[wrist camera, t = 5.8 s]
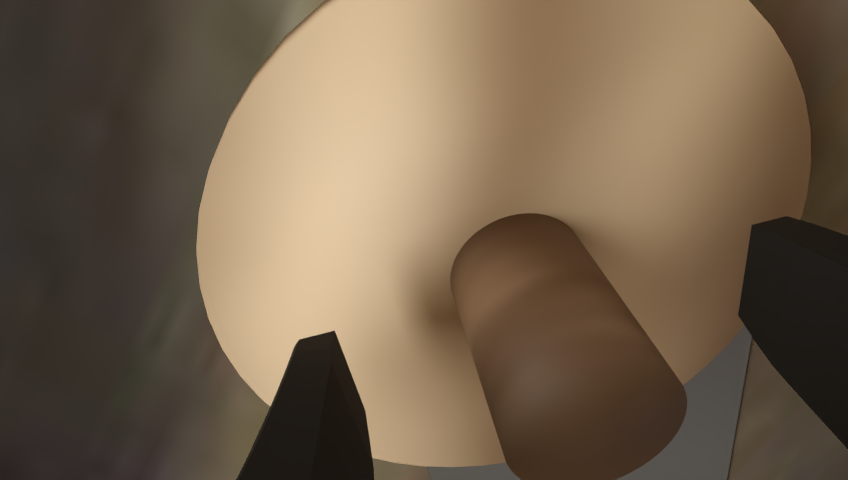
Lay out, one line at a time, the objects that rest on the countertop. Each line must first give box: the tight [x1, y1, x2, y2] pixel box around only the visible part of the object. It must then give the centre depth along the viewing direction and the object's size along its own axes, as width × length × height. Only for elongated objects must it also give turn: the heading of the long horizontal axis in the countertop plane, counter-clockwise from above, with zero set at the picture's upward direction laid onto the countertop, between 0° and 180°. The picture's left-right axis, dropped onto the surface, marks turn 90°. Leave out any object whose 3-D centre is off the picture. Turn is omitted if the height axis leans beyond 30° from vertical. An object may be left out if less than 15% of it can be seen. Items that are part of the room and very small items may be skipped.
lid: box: [196, 0, 811, 480], centre depth 10 cm, size 12×12×5 cm
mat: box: [427, 325, 752, 480], centre depth 23 cm, size 13×13×1 cm
